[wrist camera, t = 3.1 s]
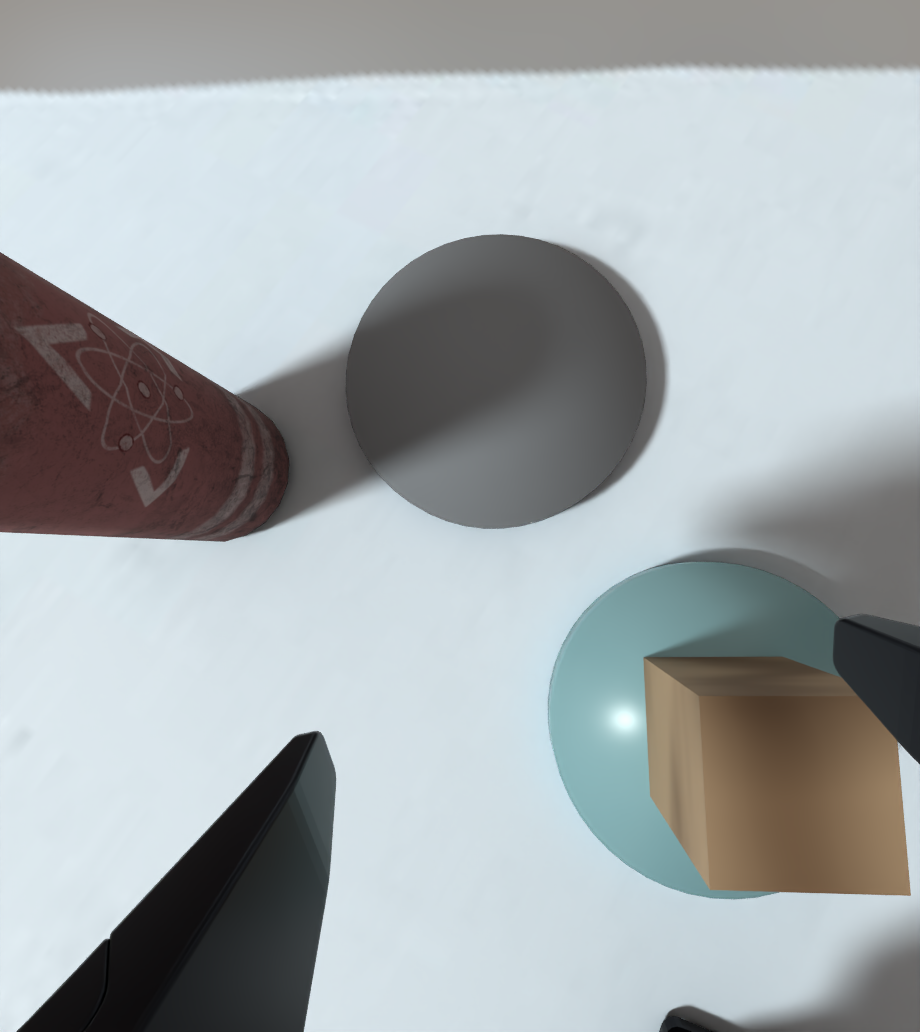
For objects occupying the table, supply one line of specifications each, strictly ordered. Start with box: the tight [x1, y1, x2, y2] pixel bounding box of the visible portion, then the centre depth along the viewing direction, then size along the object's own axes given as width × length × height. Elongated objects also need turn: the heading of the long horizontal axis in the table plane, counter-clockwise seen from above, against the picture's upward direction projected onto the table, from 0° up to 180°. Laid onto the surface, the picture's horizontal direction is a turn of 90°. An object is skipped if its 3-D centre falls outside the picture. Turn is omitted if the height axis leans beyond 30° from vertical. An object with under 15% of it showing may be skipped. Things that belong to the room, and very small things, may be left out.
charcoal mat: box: [346, 234, 646, 529], centre depth 20 cm, size 12×12×1 cm
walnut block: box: [643, 657, 911, 896], centre depth 15 cm, size 5×5×5 cm
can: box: [0, 252, 289, 542], centre depth 14 cm, size 6×6×14 cm
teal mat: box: [548, 562, 842, 899], centre depth 18 cm, size 12×12×1 cm
